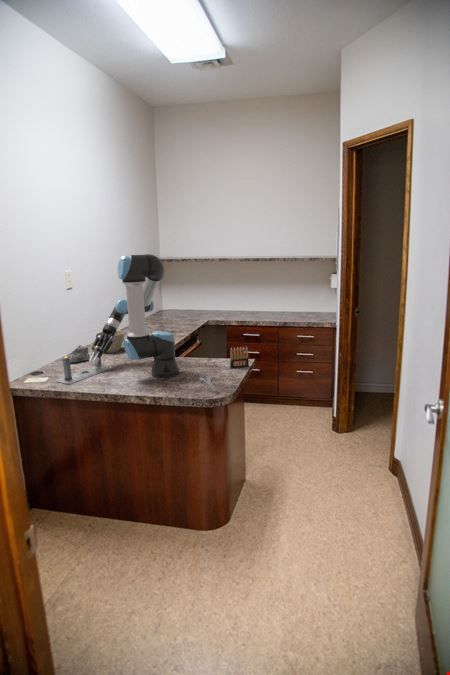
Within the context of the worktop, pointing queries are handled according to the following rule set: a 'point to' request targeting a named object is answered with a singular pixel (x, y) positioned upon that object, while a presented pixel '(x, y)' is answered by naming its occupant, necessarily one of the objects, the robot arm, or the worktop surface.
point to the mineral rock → (79, 354)
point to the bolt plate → (79, 375)
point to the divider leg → (96, 349)
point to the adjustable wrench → (209, 383)
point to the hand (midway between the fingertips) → (92, 361)
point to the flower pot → (117, 343)
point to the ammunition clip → (239, 358)
